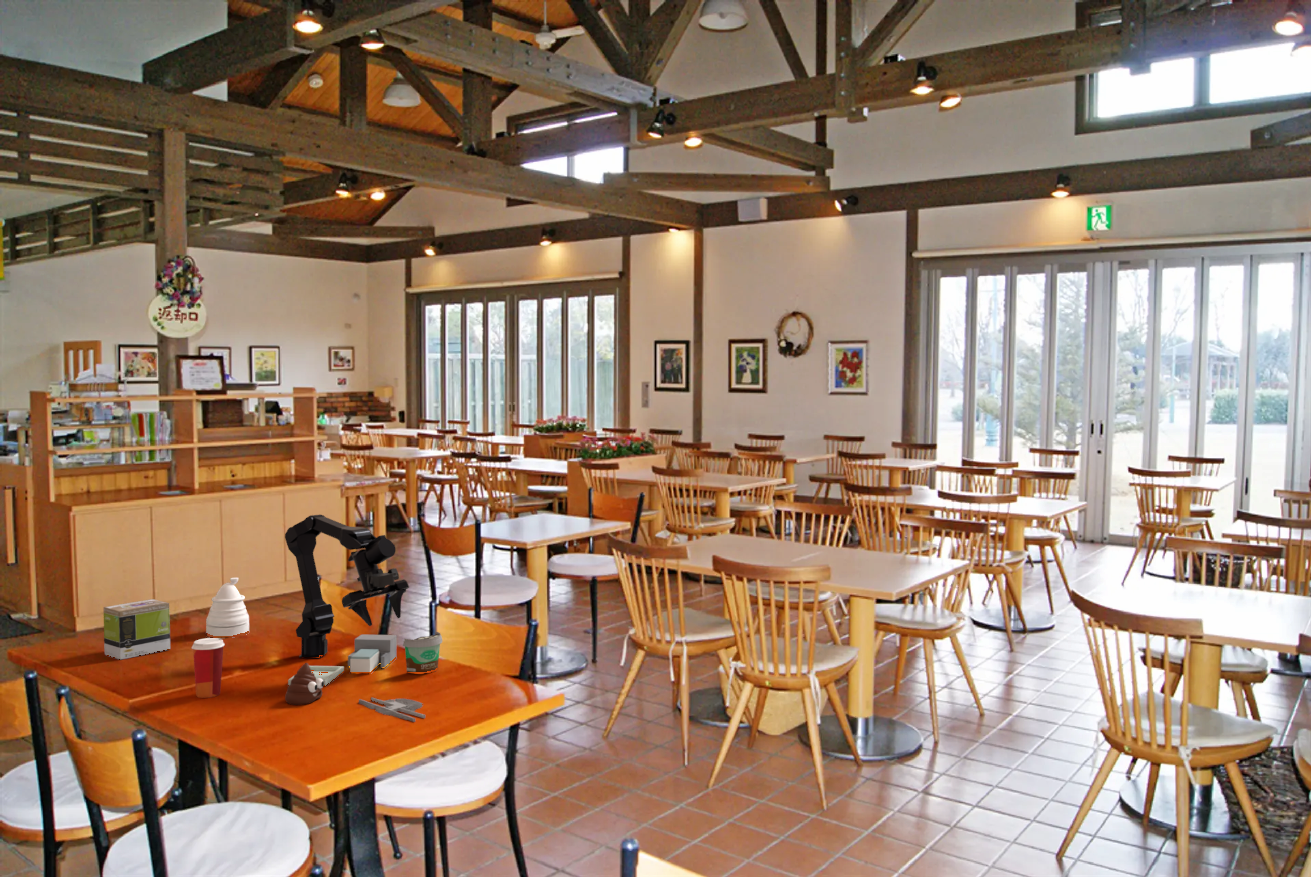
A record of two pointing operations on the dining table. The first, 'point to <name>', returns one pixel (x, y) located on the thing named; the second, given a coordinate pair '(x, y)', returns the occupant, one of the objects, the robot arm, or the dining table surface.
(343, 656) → the dining table surface
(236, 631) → the honey pot
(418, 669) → the food container
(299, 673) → the poop emoji
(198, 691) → the paper cup
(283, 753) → the dining table surface
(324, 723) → the dining table surface
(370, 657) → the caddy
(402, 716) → the grey toy spaceship
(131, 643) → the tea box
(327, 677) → the tray
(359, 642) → the bay
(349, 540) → the robot arm
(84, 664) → the dining table surface
